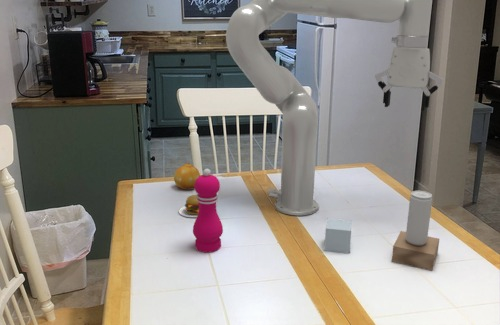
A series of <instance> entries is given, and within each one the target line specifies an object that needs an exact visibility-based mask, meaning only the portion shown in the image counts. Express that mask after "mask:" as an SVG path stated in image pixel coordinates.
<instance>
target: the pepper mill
mask: <svg viewBox="0 0 500 325" xmlns="http://www.w3.org/2000/svg"><path fill="white" fill-rule="evenodd" d="M211 172H212V171H211V169H209V168H205V169H204V170H203V171H202V173H203V174H202V175H201V174H200V176H199V177H198V178H197V179H196V181H195V185H194V188H193V189H194V190H195V192H196V195H197V201H198V202H199V212H198V215H196V217H195V221H194V223H193V227H192V233H193V236H194V237H195V240H194V241H195V243H194V244H195V245H194V246H195V247H194V248H195V249H196V250H197V251H199V252H203V253H213V252H217V251H218V250H220V249H221V246H222V239H221V238H220V237H221V236H222V235H223V233H224V229H223V223H222V221H221V218H220V216H219V214H218V211H217V202H218V201H219V198H218V197H219V194H218V193H219V191H220V190H221V184H220V180H219V178H218V177H216V175H213V174H212V173H211Z"/></svg>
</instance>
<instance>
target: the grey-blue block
mask: <svg viewBox="0 0 500 325" xmlns="http://www.w3.org/2000/svg"><path fill="white" fill-rule="evenodd" d="M324 234H325V237H324V249H323V250H324V252H332V253H333V252H335V253H343V254H350V253H351V239H352V220H349V219H340V218H339V219H338V218H329V217H328V218H327V219H326V224H325V233H324Z"/></svg>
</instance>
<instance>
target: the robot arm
mask: <svg viewBox="0 0 500 325" xmlns="http://www.w3.org/2000/svg"><path fill="white" fill-rule="evenodd" d="M432 5H433V0H251V1H250V2H249V3H247V4H246V5H242V6H240V7H238V8H237V9H236V10H235V11H234V12H233V13H232V15H231V16H230V19H229V21H228V23H227V27H226V32H225V40H226V42H225V43H226V47H227V50H228V52H229V54H230V56H231V58H232V59H233V61H234V62H235V63H236V65H237V66H238V67H239V69H240V70H241V71H242V72H243V73H244V76H245V77H246V78H247V79H248V80H249V82H250V83H252V86H254V88H255V89H256V90H257V92H258V93H259V94H260V95H261V96H260V97H262V98H263V99H264V101H266V102H268V103H270V104H273V105H275V107H277V109H278V110H279V111H280V112H281V114H282V119H281V120H282V121H281V122H282V124H281V130H282V131H281V133H282V134H281V136H282V137H281V167H280V168H281V170H280V188H279V189H276V188H271V187H270V188H269V189H268V190H267V191H268V192H267V193H268V197H269V198H272V199H276V200H275V201H274V208H275V210H277V211H278V212H280V213H282V214H285V215H289V216H298V217H299V216H309V215H311V214H314V213H316V212H318V210H319V203H318V202H317V201H316V200H315V199H314V195H315V194H314V191H315V178H316V177H315V172H316V156H317V155H316V153H317V137H318V129H319V112H318V108H317V105H316V102H315V101H314V99H313V98H312V96H311V95H310V94H309V93H308V91H307V90H306V89H305V87H304V86H303V84H301V83H300V82H299V81H298V79H297V78H296V76H295V75H294V74H293V72H291V71H290V70H289V69H288V68H287V67H286V66H282V65H280V64H278V63H277V62H276V61H275V60H274V58H273V57H272V55H270V53H269V51H267V49H266V48H265V47H264V46H263V44H262V43H261V41H260V38H259V35H260V34H262V33H264V31H265V30H267V29H268V28H269V27H271V26H272V25H274V24H276V22H277V21H279V20H280V19H282V18H283V17H284V16H285V15H287V14H297V15H306V16H313V17H321V18H322V17H323V18H329V19H330V18H331V19H348V20H349V19H350V20H358V21H368V22H374V23H381V24H382V23H383V24H390V23H391V24H392V23H394V22H396V21H398V28H397V30H398V31H397V35H396V36H395V37H394V36H393V37H391V43H394V44H395V47H392V51H391V55H390V59H389V65H388V69H386V70H383V71H380V72H379V73H376V74H375V75H374V78H375V79H376V82H377V85H378V87H379V88H380V89H381V90H382V92H383V98H382V99H383V100H382V103H383V104H384V108H388V107H390V104H391V94H392V92H391V89H392V87H395V88H407V89H408V88H409V89H421V90H422V92H423V93H424V94H423V96H422V103H421V111H422V112H425V111H426V110H427V108H429V106H430V99H431V98H430V97H431V95H433V93H435V92H436V91H437V90H438V89H439V87H440V86H441V85H442V83H443V82H444V78H442V77H441V76H438V75H437V74H436V73H434V72H432V71H430V69H431V53H430V51H431V50H430V48H428V41H429V33H430V23H431V15H432ZM385 76H387V77H386V78H387V79H386V83H385V82H384V81H383V77H385ZM430 79H431V80H432V81H435V84H434V85H433V86H432V87H431V88H430V87H429V82H430Z"/></svg>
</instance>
